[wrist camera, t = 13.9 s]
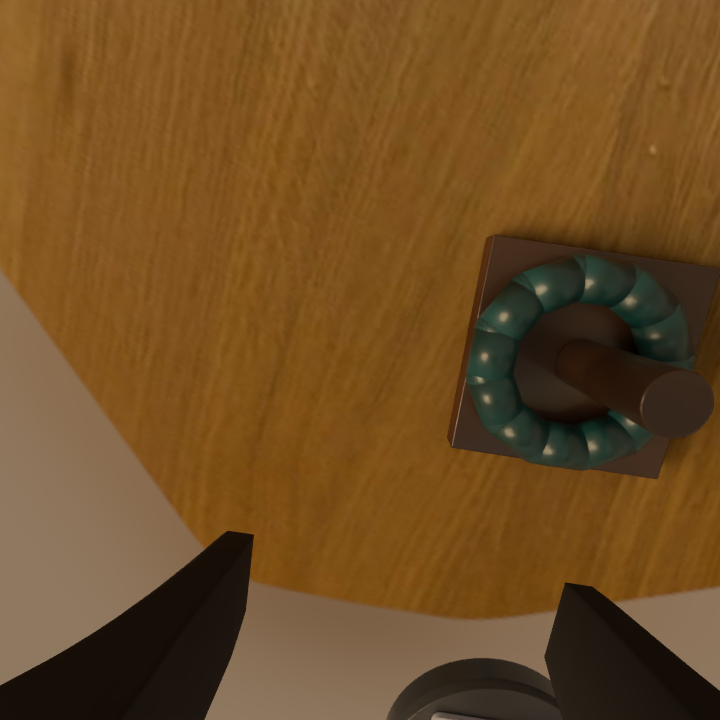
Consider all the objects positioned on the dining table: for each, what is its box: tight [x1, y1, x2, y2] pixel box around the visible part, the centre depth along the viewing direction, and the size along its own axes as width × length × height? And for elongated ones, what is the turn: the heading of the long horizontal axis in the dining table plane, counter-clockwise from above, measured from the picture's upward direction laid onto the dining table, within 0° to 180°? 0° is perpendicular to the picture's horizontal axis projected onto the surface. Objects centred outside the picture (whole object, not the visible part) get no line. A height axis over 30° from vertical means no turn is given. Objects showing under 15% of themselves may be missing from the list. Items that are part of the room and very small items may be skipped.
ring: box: [465, 253, 696, 471], centre depth 17 cm, size 8×8×2 cm
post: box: [447, 235, 720, 479], centre depth 16 cm, size 9×9×7 cm
